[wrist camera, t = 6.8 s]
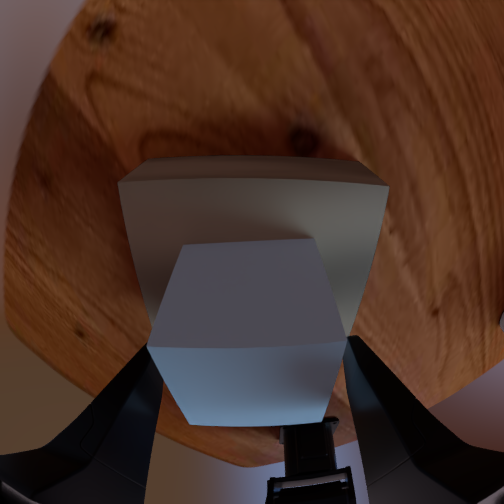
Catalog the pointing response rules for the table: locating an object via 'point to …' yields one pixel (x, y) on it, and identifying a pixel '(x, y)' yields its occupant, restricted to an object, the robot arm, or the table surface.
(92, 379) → the table surface
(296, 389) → the slate cube
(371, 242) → the taupe base block
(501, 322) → the pill bottle
